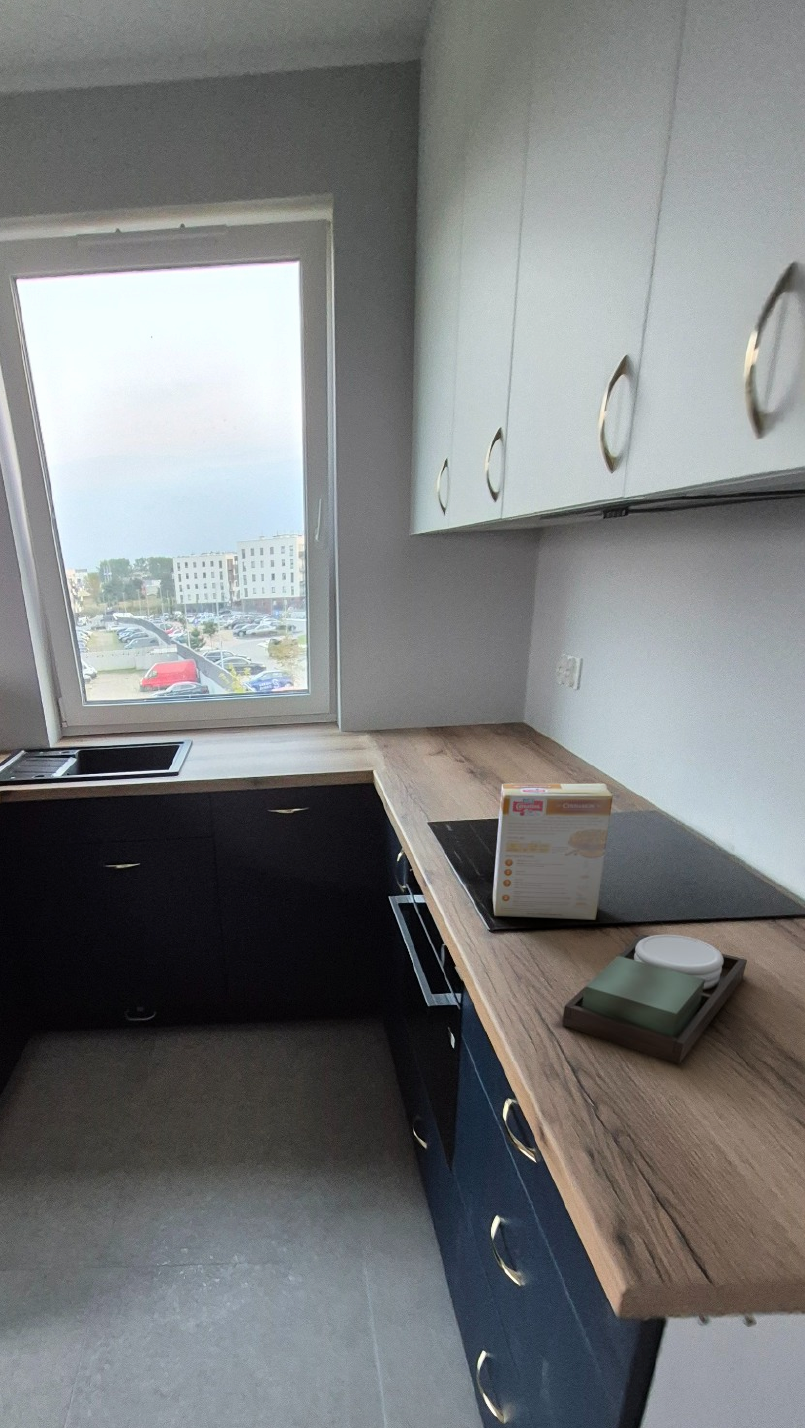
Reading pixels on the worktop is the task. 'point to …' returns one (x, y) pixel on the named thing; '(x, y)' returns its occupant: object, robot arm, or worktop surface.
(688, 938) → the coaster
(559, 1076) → the worktop surface
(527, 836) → the coffeecake box
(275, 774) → the worktop surface
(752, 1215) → the worktop surface
